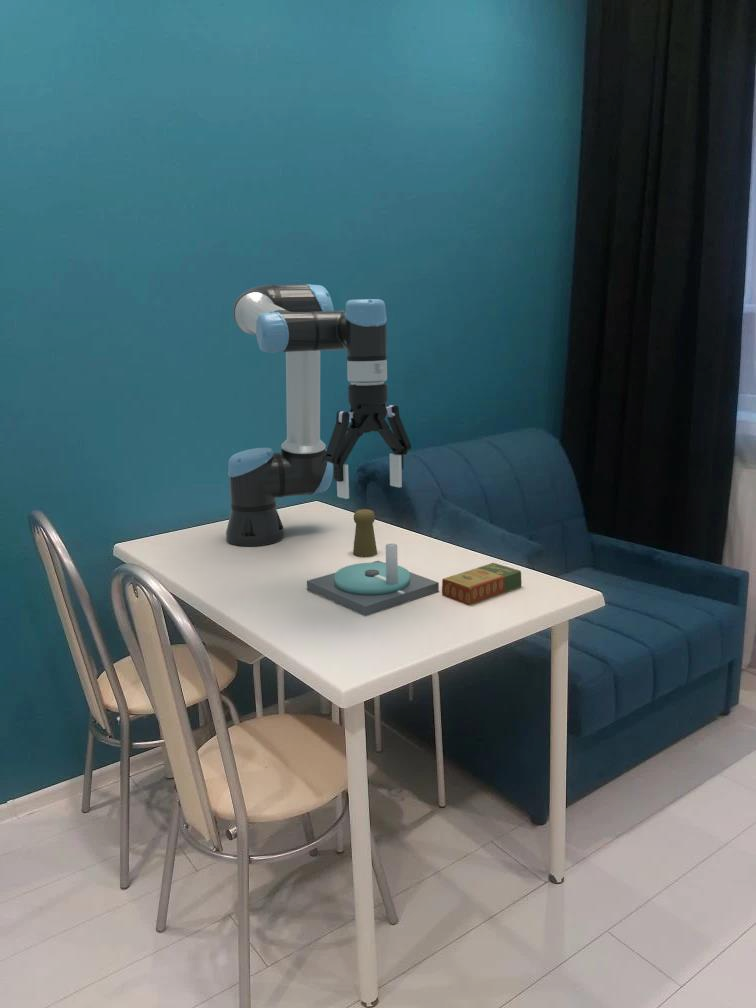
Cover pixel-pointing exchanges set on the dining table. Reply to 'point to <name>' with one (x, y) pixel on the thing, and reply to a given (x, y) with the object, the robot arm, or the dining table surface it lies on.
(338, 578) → the dial
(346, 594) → the base plate
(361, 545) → the cork
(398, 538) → the dining table surface
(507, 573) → the carton
